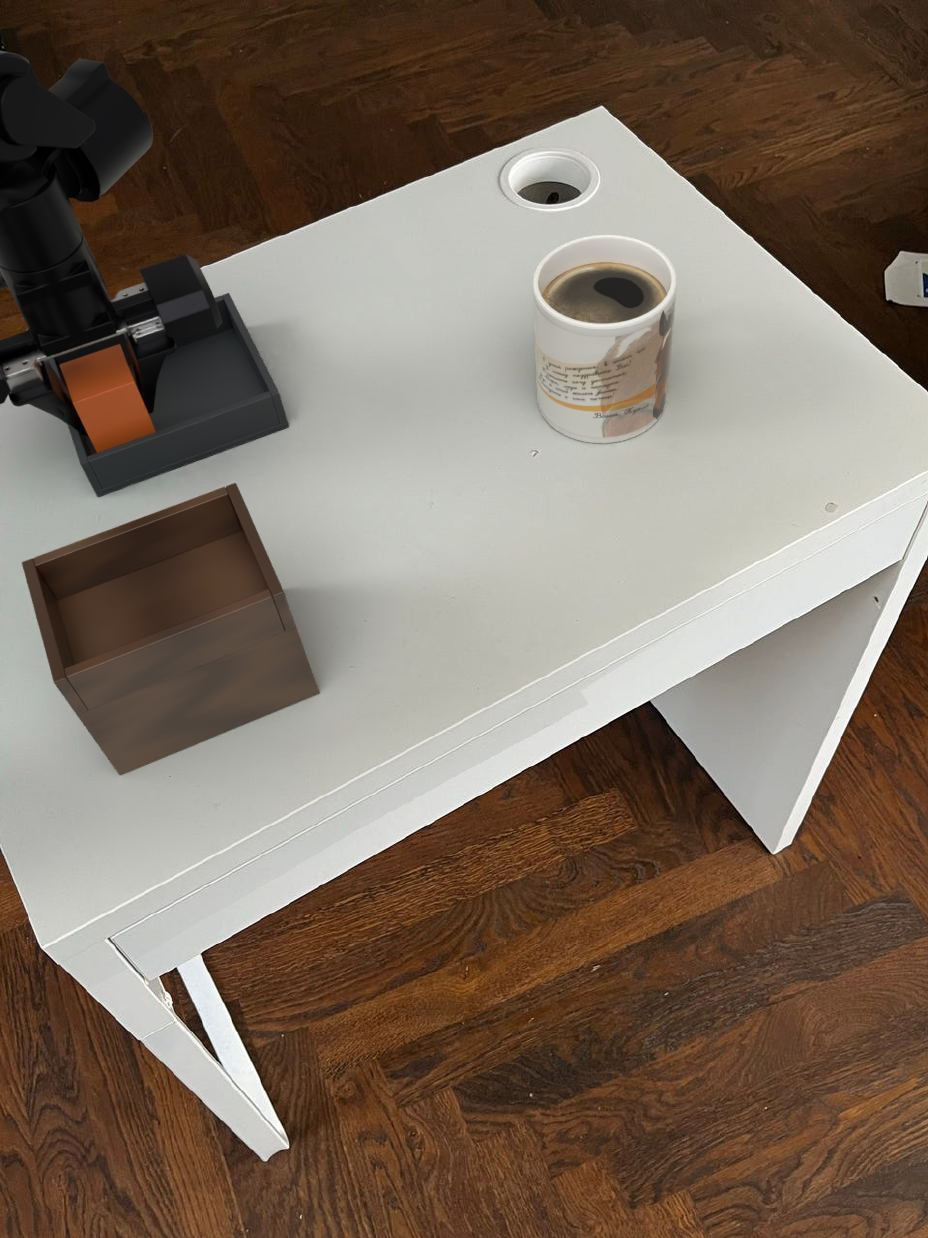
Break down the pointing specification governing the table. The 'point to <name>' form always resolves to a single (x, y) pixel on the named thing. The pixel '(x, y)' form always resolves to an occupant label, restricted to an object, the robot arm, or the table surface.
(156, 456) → the tub
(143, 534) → the box
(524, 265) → the table surface
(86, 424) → the block
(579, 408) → the mug
